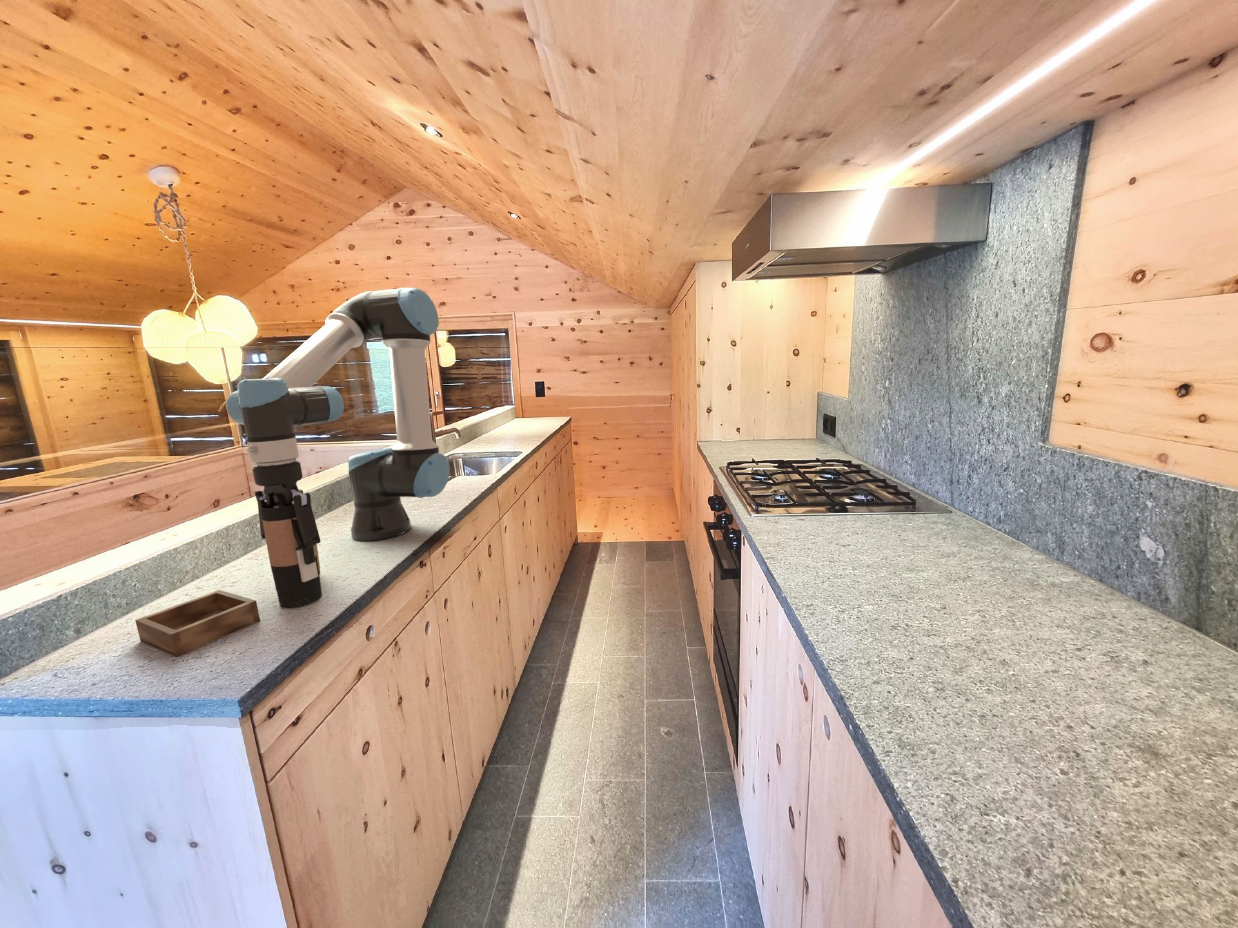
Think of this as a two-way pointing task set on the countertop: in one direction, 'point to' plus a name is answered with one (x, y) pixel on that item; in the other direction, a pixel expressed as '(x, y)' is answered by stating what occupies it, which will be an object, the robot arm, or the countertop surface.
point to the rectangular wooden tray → (197, 622)
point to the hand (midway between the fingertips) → (296, 575)
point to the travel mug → (287, 559)
